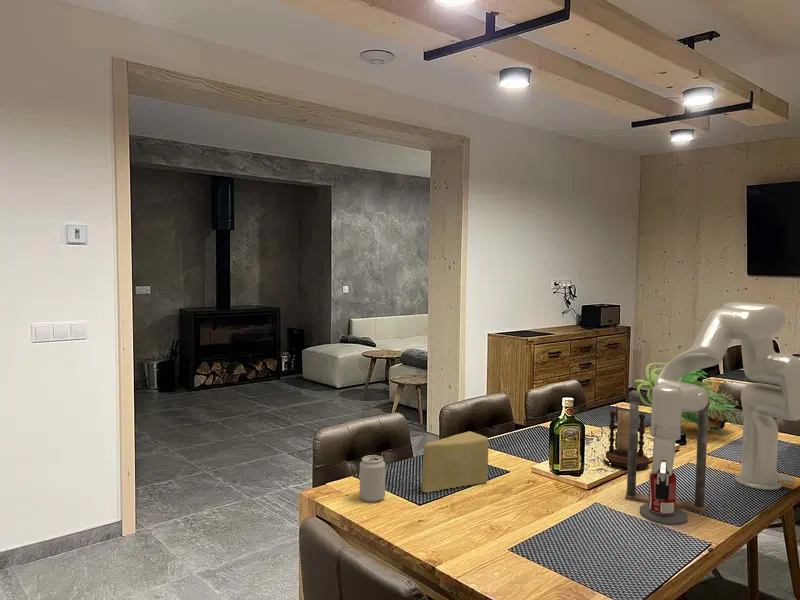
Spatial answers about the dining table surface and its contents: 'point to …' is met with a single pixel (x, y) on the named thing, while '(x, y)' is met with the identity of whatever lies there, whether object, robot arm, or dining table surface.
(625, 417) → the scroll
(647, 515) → the coaster
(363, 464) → the can
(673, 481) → the soda can
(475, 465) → the cheese
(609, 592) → the dining table surface
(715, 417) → the plant
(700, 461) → the gate
